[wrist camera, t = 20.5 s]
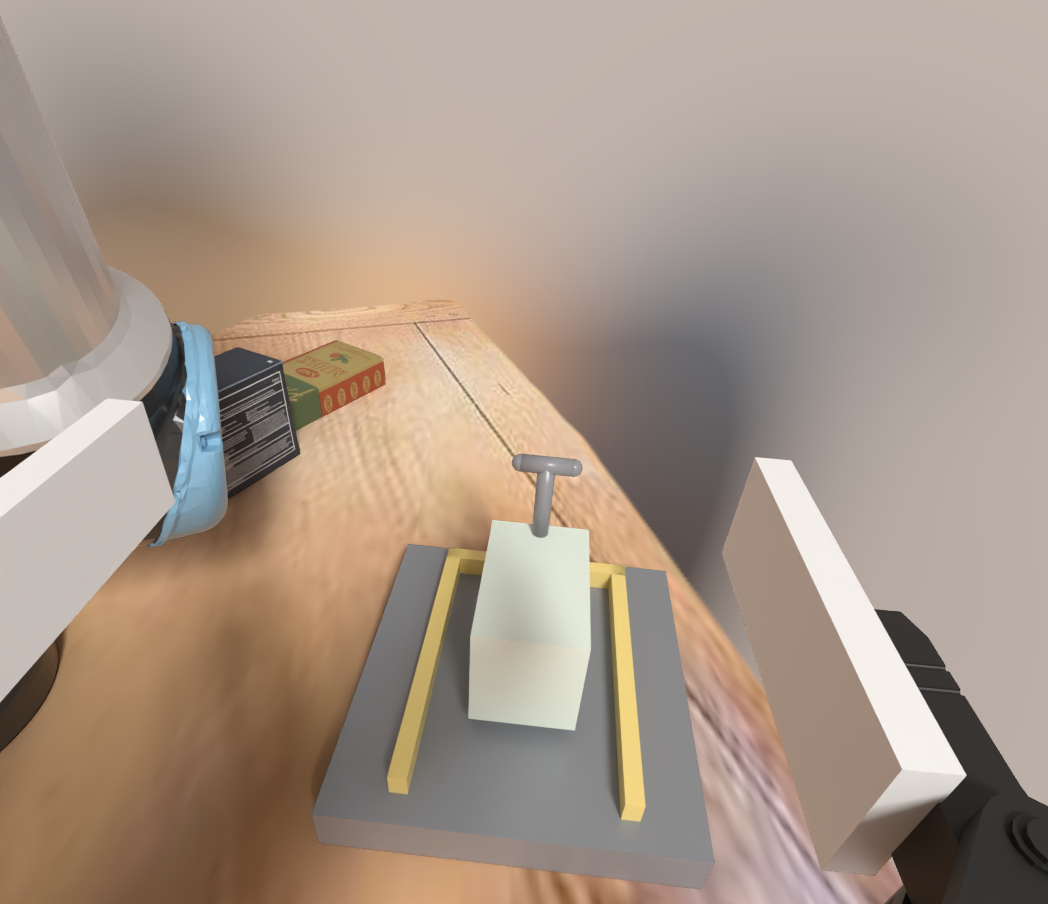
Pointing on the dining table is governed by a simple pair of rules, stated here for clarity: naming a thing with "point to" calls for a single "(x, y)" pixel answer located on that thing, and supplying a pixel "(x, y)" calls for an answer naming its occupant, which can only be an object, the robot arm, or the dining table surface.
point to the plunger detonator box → (532, 614)
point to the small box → (253, 417)
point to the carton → (330, 379)
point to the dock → (521, 741)
